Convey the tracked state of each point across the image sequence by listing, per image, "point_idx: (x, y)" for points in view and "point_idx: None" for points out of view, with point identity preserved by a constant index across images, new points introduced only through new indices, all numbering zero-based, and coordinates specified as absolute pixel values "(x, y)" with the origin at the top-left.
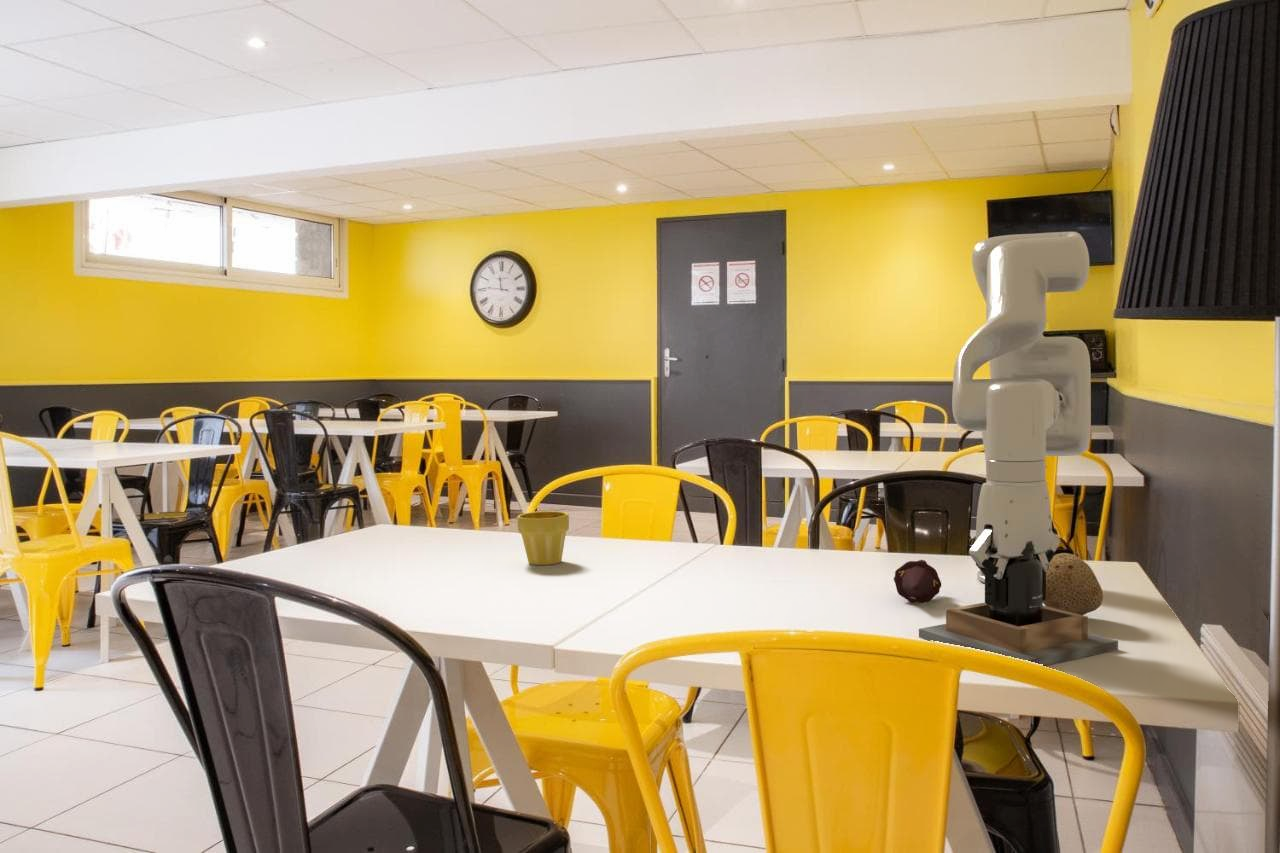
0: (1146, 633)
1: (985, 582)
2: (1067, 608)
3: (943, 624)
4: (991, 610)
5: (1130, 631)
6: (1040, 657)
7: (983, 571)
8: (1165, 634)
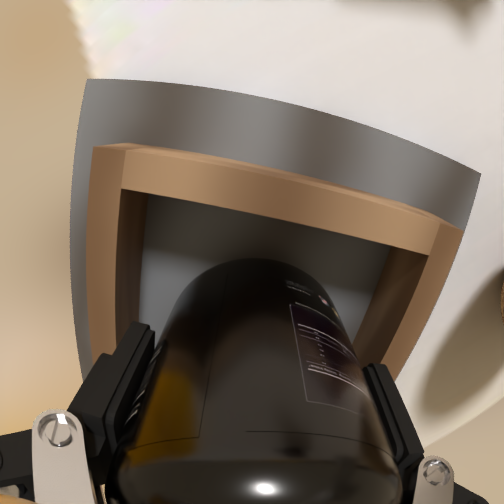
0: (472, 396)
1: (99, 383)
2: (502, 318)
3: (185, 87)
4: (171, 313)
5: (477, 379)
6: None
7: (25, 440)
8: (474, 409)
